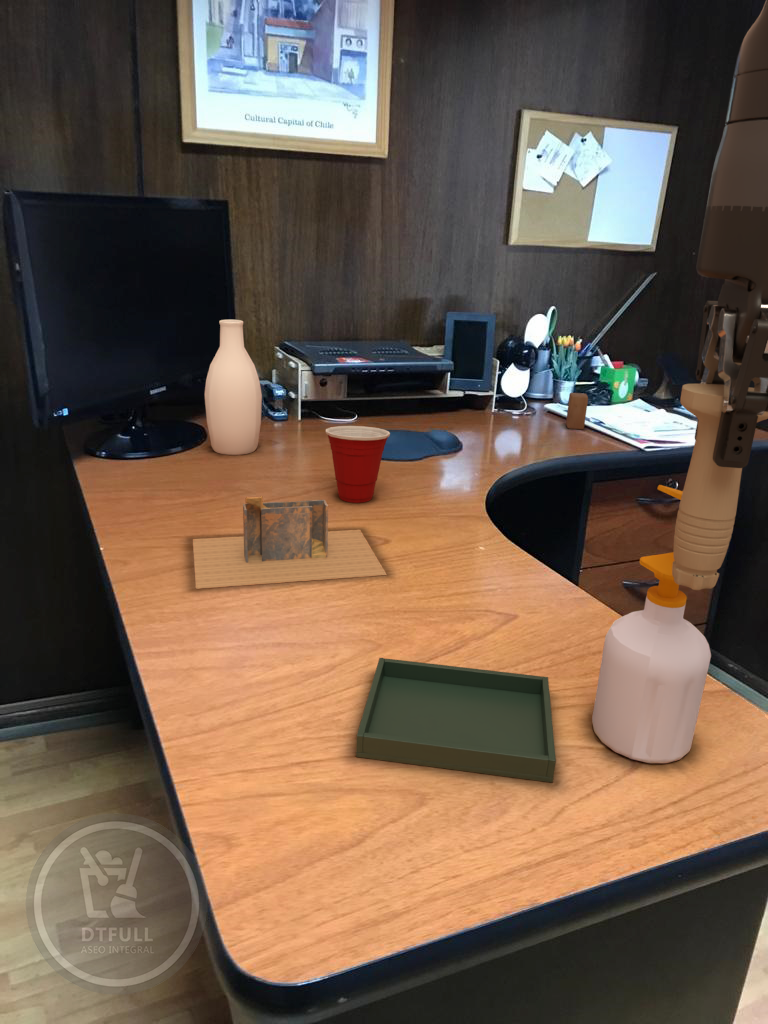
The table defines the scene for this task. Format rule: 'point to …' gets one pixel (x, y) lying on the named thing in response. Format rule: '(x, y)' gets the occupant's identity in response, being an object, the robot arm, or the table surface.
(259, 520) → the ruin model on sheet
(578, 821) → the table surface
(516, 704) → the brush tray
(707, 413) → the handle
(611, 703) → the soap bottle
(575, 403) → the wooden block
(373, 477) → the plastic cup
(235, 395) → the bottle
